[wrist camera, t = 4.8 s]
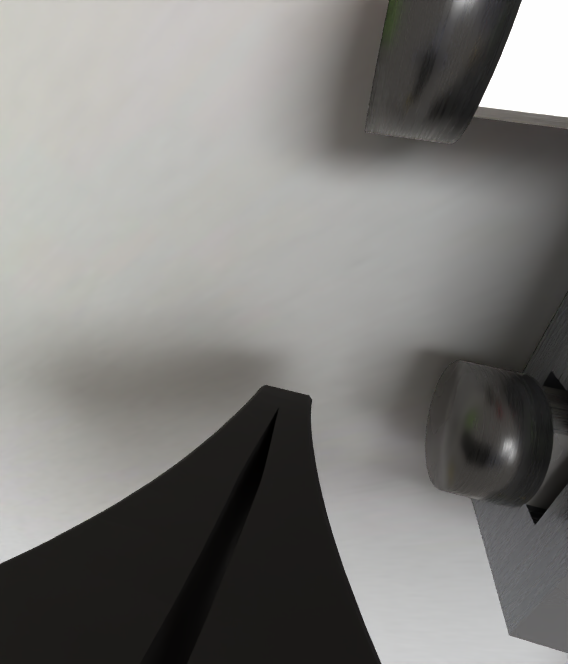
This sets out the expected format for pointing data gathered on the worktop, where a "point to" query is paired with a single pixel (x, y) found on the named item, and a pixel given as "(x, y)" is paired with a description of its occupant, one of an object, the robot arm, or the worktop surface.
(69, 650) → the robot arm
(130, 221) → the worktop surface
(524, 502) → the knob plunger
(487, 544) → the mount block
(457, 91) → the knob plunger
